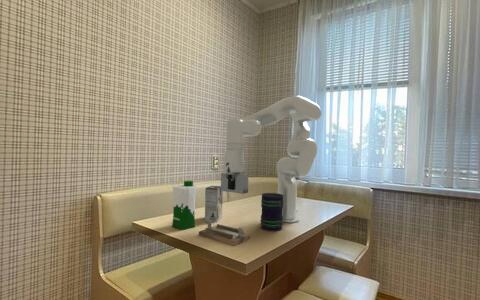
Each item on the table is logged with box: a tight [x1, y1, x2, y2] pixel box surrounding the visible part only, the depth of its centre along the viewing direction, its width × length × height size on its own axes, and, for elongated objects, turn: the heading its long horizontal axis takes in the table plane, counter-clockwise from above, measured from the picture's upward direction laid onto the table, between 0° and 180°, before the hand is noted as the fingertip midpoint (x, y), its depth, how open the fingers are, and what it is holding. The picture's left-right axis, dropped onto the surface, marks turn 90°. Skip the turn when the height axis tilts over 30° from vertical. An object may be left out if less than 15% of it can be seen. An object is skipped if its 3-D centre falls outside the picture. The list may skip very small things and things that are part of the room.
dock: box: [198, 220, 251, 246], centre depth 105 cm, size 10×18×5 cm, turn 55°
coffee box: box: [204, 185, 224, 223], centre depth 130 cm, size 9×6×16 cm
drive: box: [220, 172, 249, 195], centre depth 116 cm, size 4×12×8 cm, turn 55°
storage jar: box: [260, 192, 284, 232], centre depth 118 cm, size 10×10×15 cm
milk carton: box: [172, 180, 198, 231], centre depth 116 cm, size 9×9×20 cm
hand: (234, 188), depth 116 cm, fingers closed on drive, 4 cm apart
